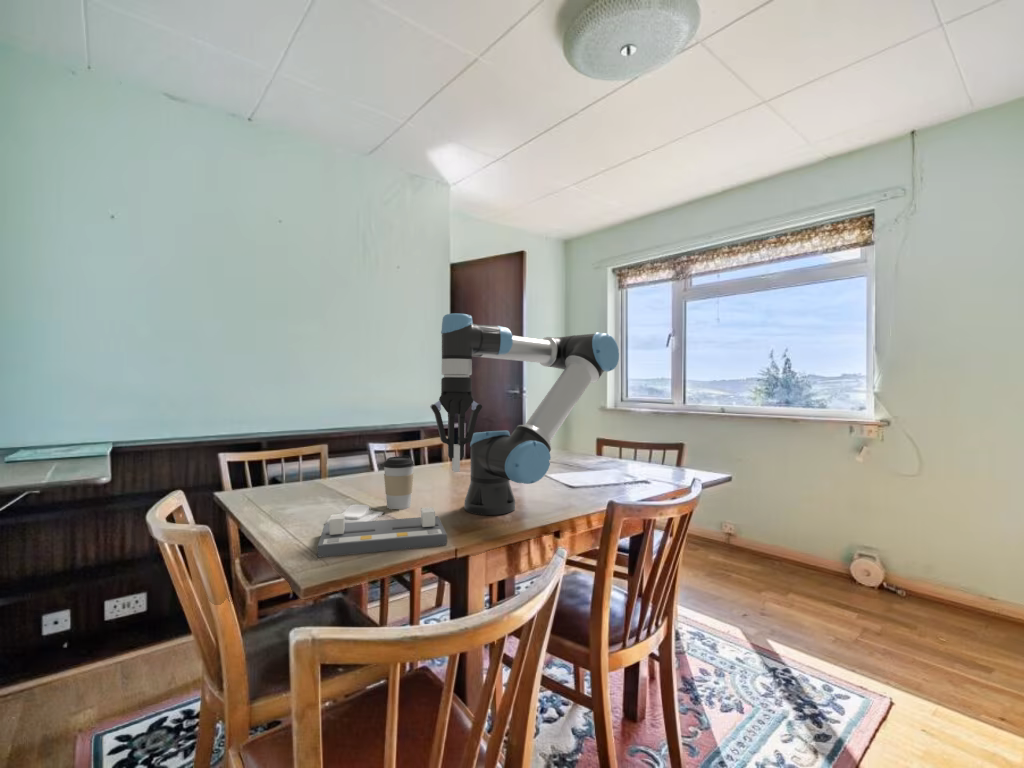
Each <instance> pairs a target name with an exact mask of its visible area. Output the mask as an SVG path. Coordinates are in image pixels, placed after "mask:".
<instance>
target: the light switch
mask: <svg viewBox="0 0 1024 768" xmlns="http://www.w3.org/2000/svg"><path fill="white" fill-rule="evenodd" d="M340 514H345V523H353V522H366V521H375V520H376V519H377V518H379V517H380V516H382V515H383V514H384V512H383V511H377V510H376V511H374V510H372V509H370V506H369V505H367V504H351V505H349V506H348V507H347V508H346V509H345V511H343V512H341V513H340ZM381 514H382V515H381ZM378 516H379V517H378ZM375 518H376V519H375ZM374 519H375V520H374ZM327 524H330V518H328V519H326V521H325V525H327Z"/></svg>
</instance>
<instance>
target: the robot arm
mask: <svg viewBox="0 0 1024 768" xmlns="http://www.w3.org/2000/svg"><path fill="white" fill-rule="evenodd" d="M440 335H441V375H442V376H443V377H442V378H440V379H441V383H440V385H441V386H440V387H441V388H440V389H441V391H440V396H439V398H438V401H436V402H434V404H431V405H430V409H431V410H432V413H434V417H435V423H436V425H437V430H438V435H439V440H440V441H441V442H442V443H443V444H446V445H447V455H448V456H447V457H448V458H449V459H451V470H452V471H453V473H460V472H461V459H462V458H464V457H465V445H466V444H468V443H470V444H469V448H470V483H469V487H468V489H467V492H466V496H465V499H464V505H463V506H464V510H465V511H466V512H468V513H470V514H474V515H481V516H495V515H496V516H497V515H503V514H508V513H511V512H514V511H515V509H516V499H515V496H514V493H513V489H512V486H511V483H510V482H514V483H517V484H525V485H530V484H531V485H532V484H534V483H537V482H539V481H540V480H542V479H543V477H545V475H546V474H547V472H548V471H549V468H550V466H551V462H550V460H551V458H552V457H551V451H552V444H551V441H552V440H553V438H554V437H555V435H556V434H557V432H558V431H559V429H560V428H561V427H562V425H563V423H565V420H566V419H567V417H568V416H569V415H570V413H571V411H572V410H573V409H574V407H575V406H576V405H577V403H578V402H579V400H580V399H581V397H582V395H583V394H584V392H585V391H586V390H587V388H588V386H589V385H590V384H594V383H597V382H598V381H599V379H600V377H601V376H602V374H604V372H607V373H609V372H610V371H613V370H615V369H616V367H617V366H618V364H619V361H620V360H619V358H620V352H619V346H618V343H617V341H616V340H615V338H614V337H613V336H612V335H611V334H609V333H606V332H594V333H589V334H576V335H567V336H566V335H565V336H561V337H557V336H556V337H551V336H546V337H544V338H535V337H534V338H533V337H527V336H520V335H514V334H513V333H512V331H511V330H510V329H509V327H505V326H501V325H492V324H490V325H489V324H476V323H474V322H473V316H472V315H471V314H466V313H459V312H458V313H455V312H454V313H447V314H445V315H443V317H442V321H441V331H440ZM472 357H475V358H486V359H497V360H508V361H509V360H510V361H519V362H530V363H539V364H540V365H541V366H543V367H546V368H547V367H548V368H554V369H558V370H559V369H560V370H563V371H562V373H560V375H559V376H558V378H557V380H556V381H555V383H554V384H553V385H552V387H551V388H550V389H549V391H548V392H547V393H546V395H545V396H544V397H543V399H542V401H541V402H540V403H539V404H538V406H537V408H536V409H535V410H534V412H533V413H532V415H531V416H530V417H529V419H528V420H527V421H526V423H525V424H518V425H517V426H516V427H515V429H514V430H513V432H511V433H510V431H509V430H507V429H506V430H492V431H491V430H490V431H482V432H481V431H480V432H478V431H477V432H475V428H476V424H477V420H478V416H479V413H480V412H481V410H482V408H483V406H482V404H480V403H477V402H476V401H475V400H474V399H475V398H474V397H473V395H472V393H473V391H472V389H473V388H472V387H473V386H472V384H473V383H472V382H473V381H472V380H473V379H472V377H470V376H472V374H473V367H472V366H473V364H472V363H473V361H472V360H473V358H472ZM441 406H442V407H443V409H444V410H445V412H447V436H446V430H445V426H444V422H443V418H442V414H441V410H442V407H441ZM470 407H471V410H472V411H471V413H470V417H469V421H468V424H467V429H466V431H465V426H466V425H465V423H466V422H465V421H466V420H465V419H466V413H467V411H468V410H469V409H470ZM456 414H457V421H458V422H457V442H458V443H456V444H455V416H456ZM465 433H466V434H465Z"/></svg>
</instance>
